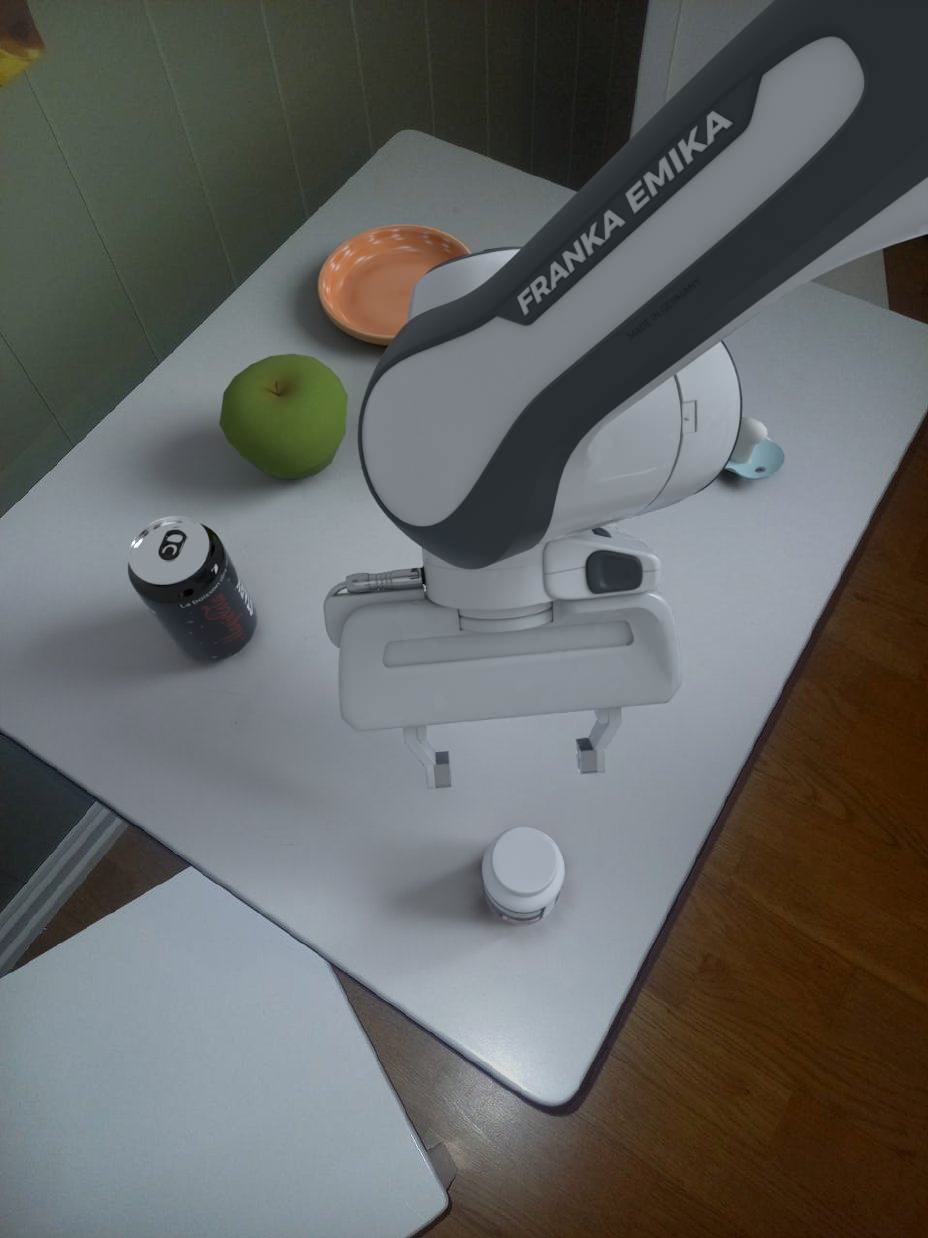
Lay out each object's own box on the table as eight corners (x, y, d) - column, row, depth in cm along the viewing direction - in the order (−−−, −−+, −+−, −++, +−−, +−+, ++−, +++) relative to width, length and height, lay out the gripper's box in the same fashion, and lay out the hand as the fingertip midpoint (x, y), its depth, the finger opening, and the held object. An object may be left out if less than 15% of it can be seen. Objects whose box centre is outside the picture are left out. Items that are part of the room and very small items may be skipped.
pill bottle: (519, 832, 60) (524, 797, 52) (574, 886, 58) (587, 858, 51) (466, 886, 59) (463, 858, 51) (521, 943, 57) (526, 923, 49)
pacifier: (711, 420, 78) (687, 465, 75) (729, 369, 72) (704, 415, 70) (789, 448, 76) (767, 496, 73) (813, 398, 70) (791, 447, 68)
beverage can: (271, 599, 70) (232, 516, 59) (244, 674, 67) (198, 599, 56) (193, 586, 71) (141, 501, 60) (163, 659, 68) (102, 583, 57)
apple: (332, 397, 80) (313, 314, 71) (377, 476, 75) (362, 398, 67) (224, 439, 78) (190, 359, 69) (263, 523, 73) (232, 449, 65)
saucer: (336, 373, 81) (331, 349, 79) (311, 263, 89) (305, 238, 86) (497, 341, 83) (497, 317, 80) (459, 235, 90) (458, 210, 88)
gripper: (312, 591, 45) (343, 819, 49) (690, 557, 46) (690, 786, 50) (325, 564, 51) (352, 769, 55) (659, 534, 52) (662, 740, 56)
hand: (515, 777), depth 53 cm, fingers open, 8 cm apart
